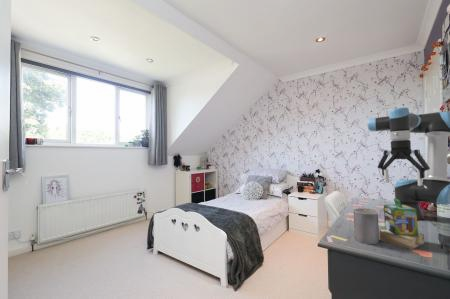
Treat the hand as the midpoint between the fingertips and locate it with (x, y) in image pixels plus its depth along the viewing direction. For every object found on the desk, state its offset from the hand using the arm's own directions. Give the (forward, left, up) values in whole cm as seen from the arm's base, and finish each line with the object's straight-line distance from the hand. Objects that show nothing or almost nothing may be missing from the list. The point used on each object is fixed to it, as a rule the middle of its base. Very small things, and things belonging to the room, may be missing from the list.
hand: (402, 183), depth 106 cm
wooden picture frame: (+8, +2, -25) cm, 27 cm away
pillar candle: (+21, -6, -25) cm, 33 cm away
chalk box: (+8, +2, -21) cm, 23 cm away
